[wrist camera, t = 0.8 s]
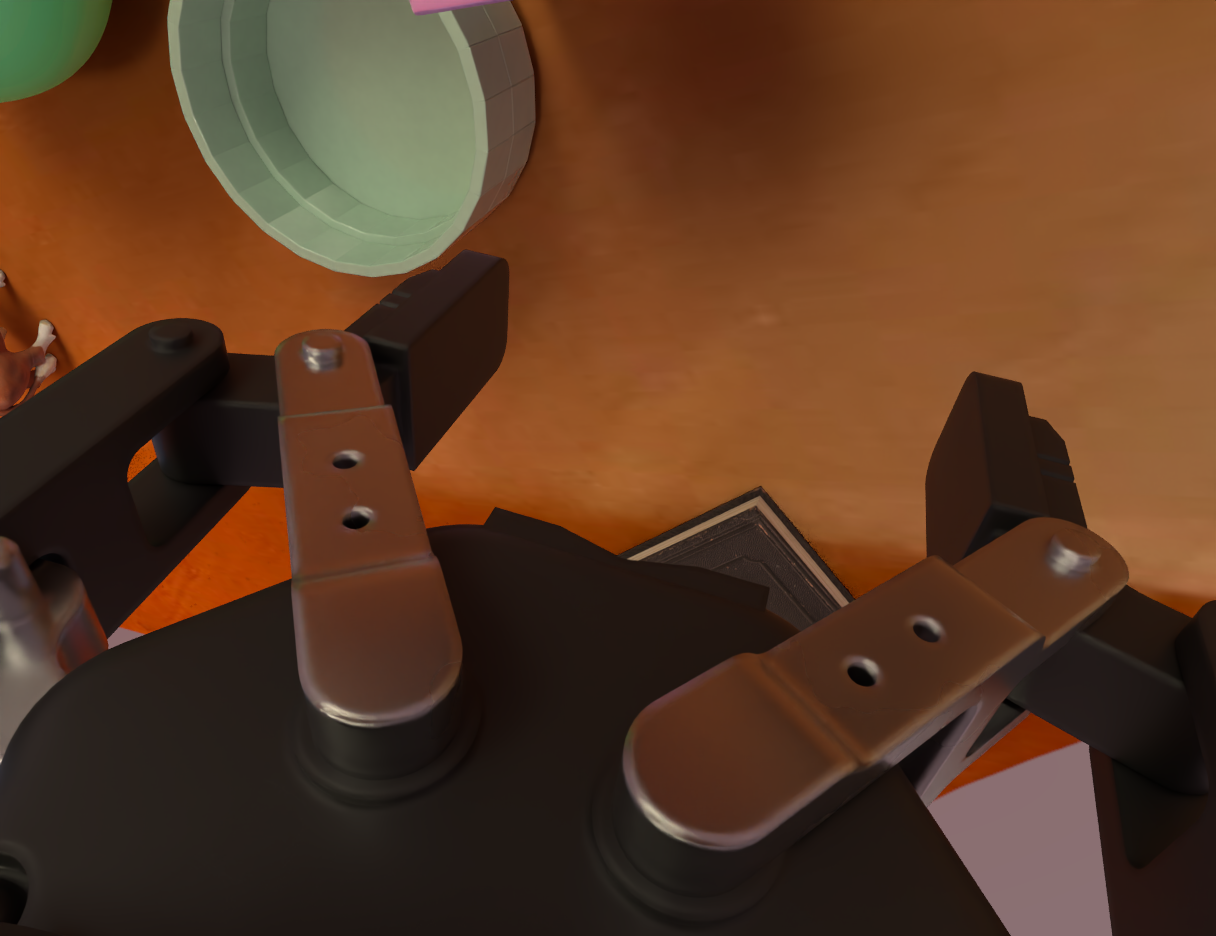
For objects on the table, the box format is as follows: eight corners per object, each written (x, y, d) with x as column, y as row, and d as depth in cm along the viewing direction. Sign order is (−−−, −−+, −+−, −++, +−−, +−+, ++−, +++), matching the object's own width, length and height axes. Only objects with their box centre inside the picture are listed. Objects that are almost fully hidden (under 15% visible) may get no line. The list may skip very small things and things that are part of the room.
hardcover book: (514, 604, 62) (503, 626, 60) (761, 485, 48) (755, 508, 47) (645, 733, 66) (638, 757, 64) (903, 657, 53) (903, 684, 51)
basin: (206, -61, 39) (103, -51, 34) (484, -157, 34) (410, -162, 29) (334, 247, 48) (266, 291, 43) (575, 211, 42) (530, 257, 37)
